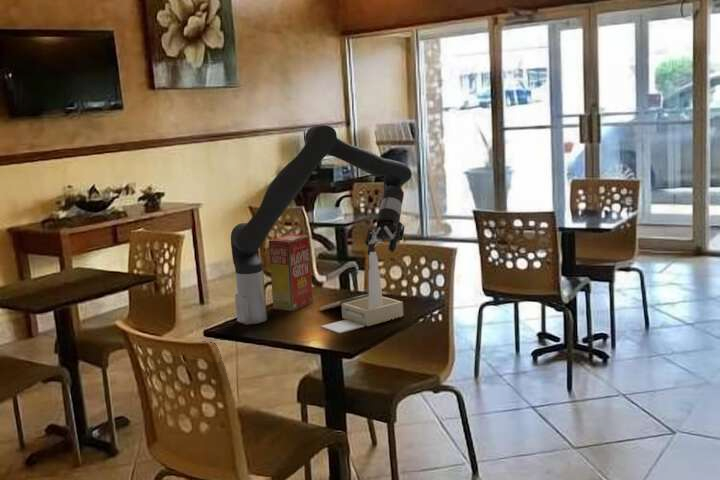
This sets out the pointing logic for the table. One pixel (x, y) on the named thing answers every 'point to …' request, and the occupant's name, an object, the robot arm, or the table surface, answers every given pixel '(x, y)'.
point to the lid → (336, 303)
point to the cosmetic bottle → (374, 283)
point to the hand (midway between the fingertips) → (380, 253)
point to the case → (371, 310)
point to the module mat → (342, 326)
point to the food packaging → (290, 272)
